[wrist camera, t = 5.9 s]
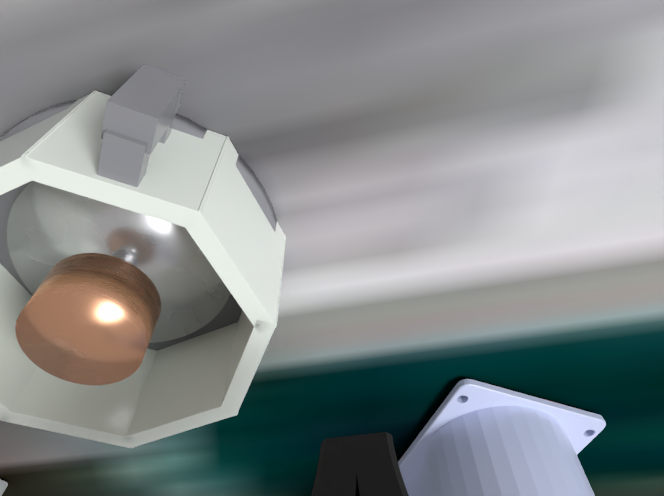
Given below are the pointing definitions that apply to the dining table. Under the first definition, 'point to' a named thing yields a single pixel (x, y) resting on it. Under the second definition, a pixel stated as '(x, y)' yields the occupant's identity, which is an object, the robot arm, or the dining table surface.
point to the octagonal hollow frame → (164, 204)
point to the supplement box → (2, 486)
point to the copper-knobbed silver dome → (103, 284)
